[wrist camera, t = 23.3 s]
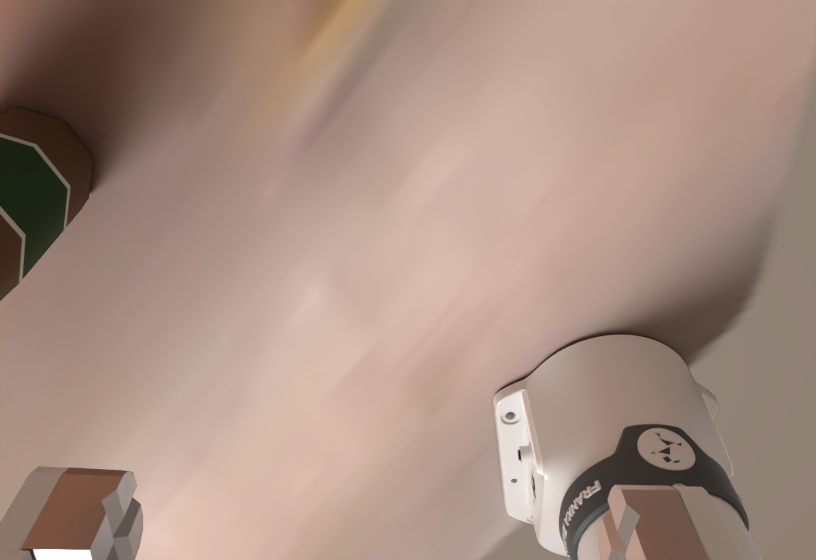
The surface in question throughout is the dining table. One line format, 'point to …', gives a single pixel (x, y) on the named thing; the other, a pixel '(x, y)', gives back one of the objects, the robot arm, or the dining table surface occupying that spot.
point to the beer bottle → (37, 188)
